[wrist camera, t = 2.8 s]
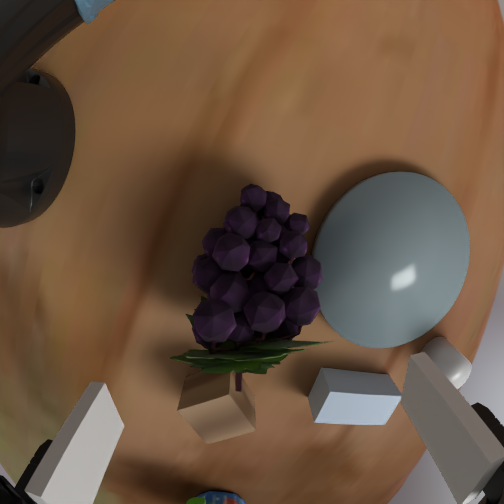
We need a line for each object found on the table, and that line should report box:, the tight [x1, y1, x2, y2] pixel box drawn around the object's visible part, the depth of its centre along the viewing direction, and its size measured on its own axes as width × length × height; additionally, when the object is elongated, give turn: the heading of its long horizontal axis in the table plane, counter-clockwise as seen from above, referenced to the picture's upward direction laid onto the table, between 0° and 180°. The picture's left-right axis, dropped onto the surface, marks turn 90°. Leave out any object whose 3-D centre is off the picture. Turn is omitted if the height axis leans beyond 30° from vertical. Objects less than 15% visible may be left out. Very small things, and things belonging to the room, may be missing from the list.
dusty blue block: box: [308, 367, 402, 425], centre depth 27 cm, size 4×8×4 cm, turn 76°
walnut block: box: [177, 372, 256, 444], centre depth 26 cm, size 5×5×5 cm
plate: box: [311, 171, 470, 348], centre depth 25 cm, size 16×16×1 cm
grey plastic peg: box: [420, 337, 472, 389], centre depth 26 cm, size 4×4×5 cm
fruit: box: [170, 184, 331, 392], centre depth 21 cm, size 10×11×15 cm
